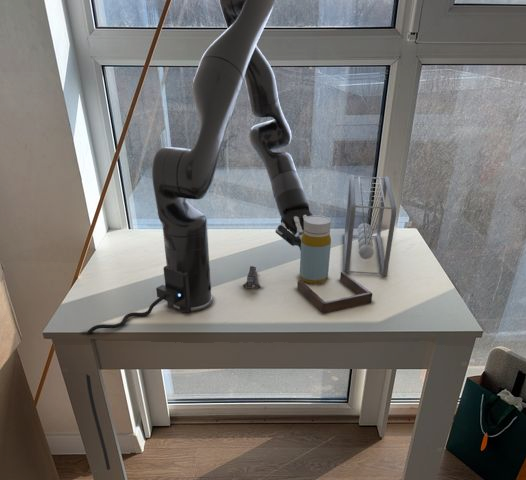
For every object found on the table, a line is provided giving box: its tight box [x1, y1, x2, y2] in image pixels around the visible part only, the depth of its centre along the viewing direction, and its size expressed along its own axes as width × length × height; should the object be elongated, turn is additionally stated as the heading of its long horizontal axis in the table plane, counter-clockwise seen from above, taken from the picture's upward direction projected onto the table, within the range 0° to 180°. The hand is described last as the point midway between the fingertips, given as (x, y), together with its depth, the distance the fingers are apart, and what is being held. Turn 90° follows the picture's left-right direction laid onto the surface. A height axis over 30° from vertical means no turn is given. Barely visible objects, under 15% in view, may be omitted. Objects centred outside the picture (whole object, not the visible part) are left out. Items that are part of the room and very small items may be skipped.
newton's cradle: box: [343, 174, 397, 277], centre depth 133 cm, size 30×10×18 cm, turn 172°
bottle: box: [299, 214, 332, 285], centre depth 122 cm, size 7×7×15 cm
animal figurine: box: [242, 265, 262, 289], centre depth 121 cm, size 12×4×5 cm, turn 174°
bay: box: [296, 271, 373, 314], centre depth 117 cm, size 13×13×2 cm
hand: (309, 258), depth 125 cm, fingers closed
